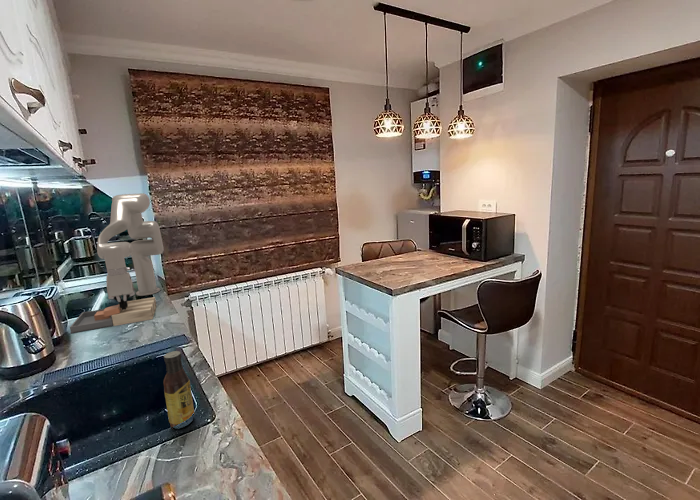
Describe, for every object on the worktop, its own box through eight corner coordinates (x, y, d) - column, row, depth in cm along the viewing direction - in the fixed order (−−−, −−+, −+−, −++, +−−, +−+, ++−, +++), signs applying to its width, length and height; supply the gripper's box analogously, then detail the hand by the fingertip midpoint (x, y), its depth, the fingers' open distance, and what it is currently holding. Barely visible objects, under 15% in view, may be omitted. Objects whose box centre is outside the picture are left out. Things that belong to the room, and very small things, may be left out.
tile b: (106, 312, 171) (105, 307, 171) (121, 308, 174) (119, 304, 173) (104, 316, 166) (103, 311, 165) (119, 312, 168) (118, 307, 168)
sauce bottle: (189, 430, 94) (177, 360, 90) (165, 431, 94) (152, 361, 90) (199, 414, 100) (189, 348, 96) (177, 415, 101) (166, 349, 97)
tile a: (111, 309, 181) (112, 314, 181) (96, 311, 178) (97, 316, 179) (108, 313, 175) (109, 318, 176) (94, 315, 173) (95, 320, 174)
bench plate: (121, 311, 185) (119, 302, 184) (156, 306, 191) (154, 297, 190) (113, 326, 167) (111, 315, 166) (152, 319, 173) (150, 309, 172)
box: (83, 318, 179) (82, 312, 179) (120, 312, 185) (119, 306, 184) (71, 333, 161) (69, 327, 160) (112, 326, 167) (111, 320, 166)
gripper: (136, 267, 174) (143, 303, 178) (100, 272, 169) (107, 309, 173) (134, 270, 168) (141, 308, 171) (96, 276, 162) (104, 314, 166)
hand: (124, 308), depth 172 cm, fingers closed
